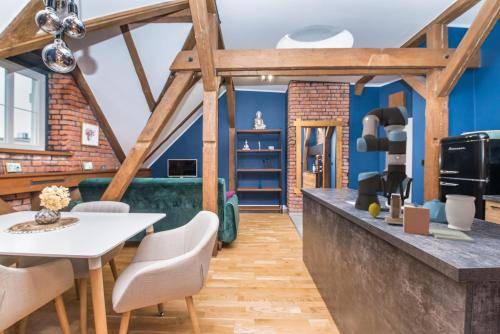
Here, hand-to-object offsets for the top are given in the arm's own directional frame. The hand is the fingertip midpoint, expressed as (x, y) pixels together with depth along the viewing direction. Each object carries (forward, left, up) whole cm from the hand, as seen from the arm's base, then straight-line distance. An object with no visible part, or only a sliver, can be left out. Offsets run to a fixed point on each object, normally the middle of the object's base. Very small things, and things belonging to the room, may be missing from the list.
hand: (395, 212), depth 120 cm
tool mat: (+10, +18, -6) cm, 21 cm away
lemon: (-12, -8, -6) cm, 15 cm away
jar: (-4, +26, -6) cm, 27 cm away
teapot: (-20, +21, -6) cm, 29 cm away
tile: (+12, +6, -6) cm, 15 cm away
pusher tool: (0, 0, -5) cm, 5 cm away
